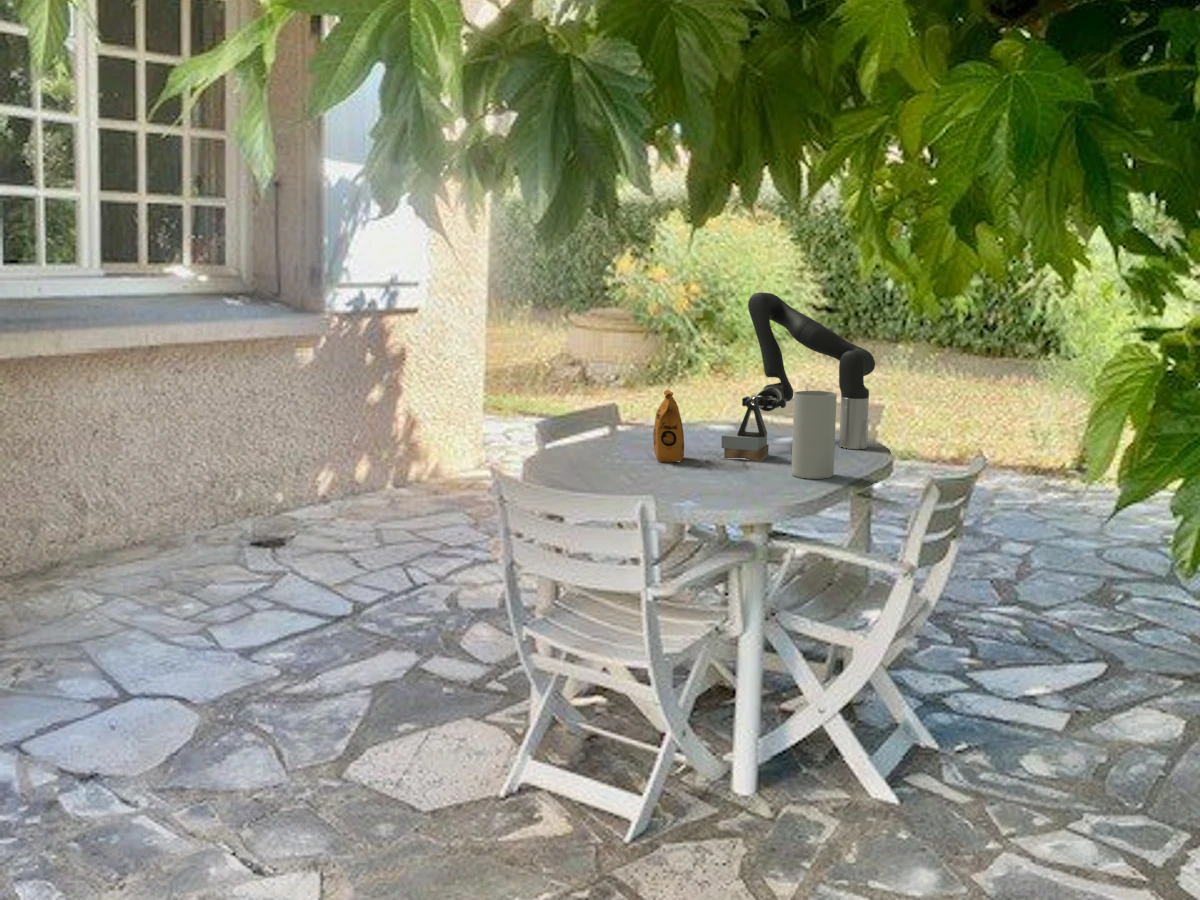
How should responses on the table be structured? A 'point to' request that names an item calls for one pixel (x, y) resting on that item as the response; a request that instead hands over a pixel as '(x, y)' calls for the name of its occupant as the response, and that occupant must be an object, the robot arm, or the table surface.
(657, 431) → the coffee package
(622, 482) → the table surface
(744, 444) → the top slab
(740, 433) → the black triangular frame
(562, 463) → the table surface
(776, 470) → the table surface
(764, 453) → the bottom slab
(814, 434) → the cylinder vase
